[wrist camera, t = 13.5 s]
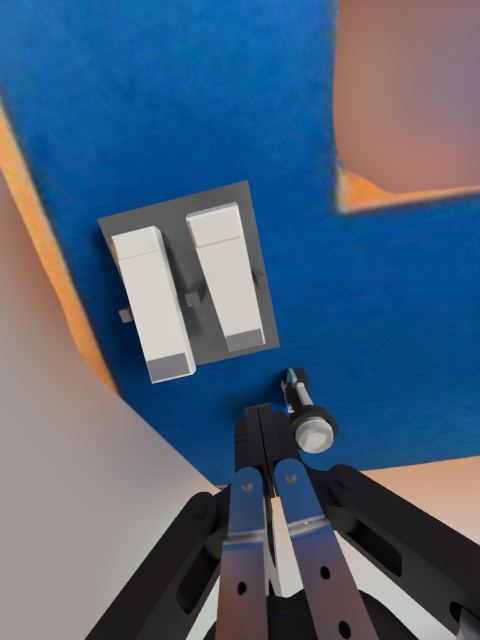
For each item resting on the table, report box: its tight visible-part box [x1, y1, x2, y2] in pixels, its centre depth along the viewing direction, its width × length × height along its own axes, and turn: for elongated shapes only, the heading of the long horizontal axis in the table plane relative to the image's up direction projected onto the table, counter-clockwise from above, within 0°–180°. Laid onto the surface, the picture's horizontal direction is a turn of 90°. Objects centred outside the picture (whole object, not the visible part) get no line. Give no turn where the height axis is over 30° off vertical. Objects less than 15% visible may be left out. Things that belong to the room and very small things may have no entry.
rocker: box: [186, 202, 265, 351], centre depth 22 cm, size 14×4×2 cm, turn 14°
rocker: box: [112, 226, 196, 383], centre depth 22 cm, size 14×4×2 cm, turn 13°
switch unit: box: [97, 180, 280, 366], centre depth 25 cm, size 18×15×7 cm
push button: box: [281, 368, 338, 453], centre depth 29 cm, size 7×5×10 cm
